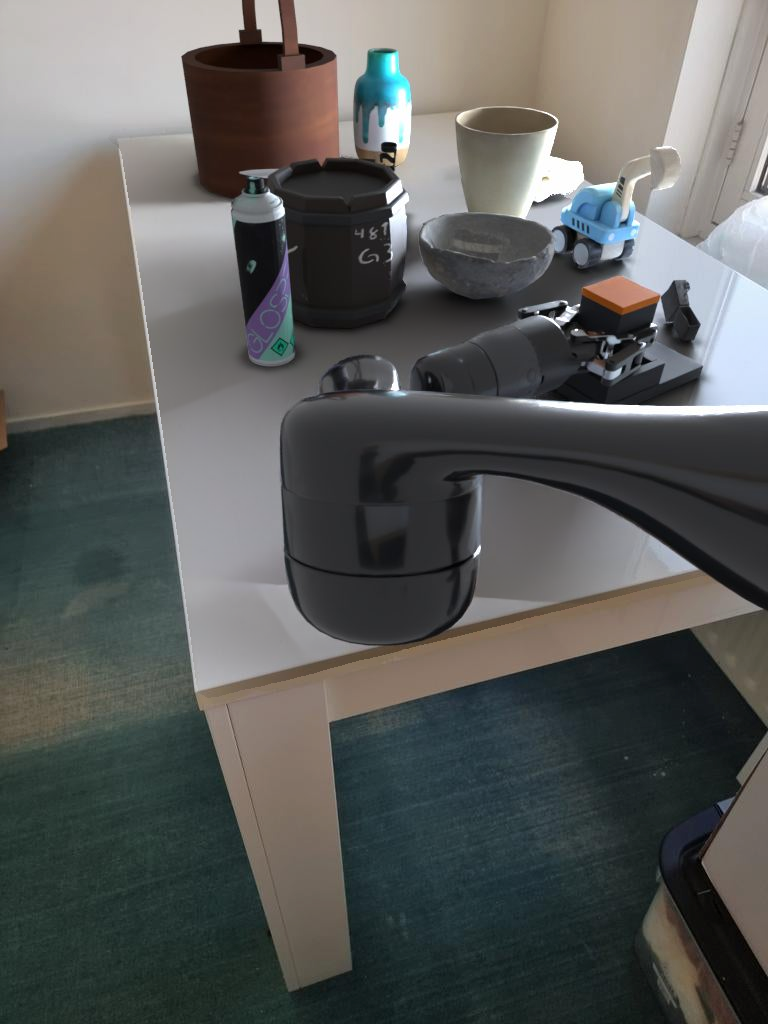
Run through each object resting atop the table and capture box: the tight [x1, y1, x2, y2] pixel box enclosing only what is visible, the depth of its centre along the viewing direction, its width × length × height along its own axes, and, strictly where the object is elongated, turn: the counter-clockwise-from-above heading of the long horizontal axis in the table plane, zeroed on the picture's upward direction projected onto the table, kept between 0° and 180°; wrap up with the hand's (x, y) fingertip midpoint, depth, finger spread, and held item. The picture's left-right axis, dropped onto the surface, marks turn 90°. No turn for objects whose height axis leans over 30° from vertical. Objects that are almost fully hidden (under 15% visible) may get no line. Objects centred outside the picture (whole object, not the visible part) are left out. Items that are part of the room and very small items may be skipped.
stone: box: [532, 155, 585, 203], centre depth 132 cm, size 21×12×5 cm, turn 5°
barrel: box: [266, 157, 410, 329], centre depth 93 cm, size 18×18×16 cm
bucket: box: [181, 0, 341, 199], centre depth 124 cm, size 26×26×35 cm
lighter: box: [660, 279, 702, 342], centre depth 92 cm, size 8×2×5 cm
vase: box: [352, 47, 412, 168], centre depth 134 cm, size 11×11×19 cm
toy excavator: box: [551, 145, 682, 269], centre depth 102 cm, size 9×17×17 cm, turn 28°
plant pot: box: [454, 106, 559, 219], centre depth 113 cm, size 15×15×16 cm
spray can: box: [230, 176, 296, 367], centre depth 81 cm, size 6×6×20 cm
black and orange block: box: [576, 275, 662, 363], centre depth 78 cm, size 6×6×10 cm
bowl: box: [418, 211, 556, 300], centre depth 99 cm, size 18×18×8 cm
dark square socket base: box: [553, 340, 704, 406], centre depth 84 cm, size 12×16×4 cm
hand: (630, 321), depth 79 cm, fingers open, 5 cm apart
